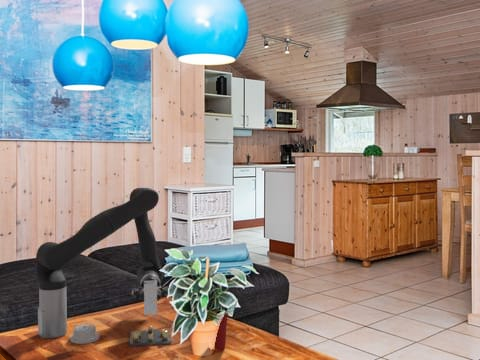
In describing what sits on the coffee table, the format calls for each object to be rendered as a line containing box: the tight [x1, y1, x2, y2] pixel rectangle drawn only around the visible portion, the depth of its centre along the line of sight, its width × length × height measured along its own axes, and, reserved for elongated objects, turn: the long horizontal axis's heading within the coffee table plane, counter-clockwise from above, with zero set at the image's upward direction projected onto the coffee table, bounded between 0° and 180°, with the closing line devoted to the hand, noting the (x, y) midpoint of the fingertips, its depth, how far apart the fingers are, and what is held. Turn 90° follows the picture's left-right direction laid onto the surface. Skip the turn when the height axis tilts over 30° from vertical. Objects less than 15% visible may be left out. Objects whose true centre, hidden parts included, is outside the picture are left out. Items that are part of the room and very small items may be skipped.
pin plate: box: [129, 325, 172, 347], centre depth 178 cm, size 14×12×4 cm
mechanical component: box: [69, 324, 100, 345], centre depth 178 cm, size 10×4×10 cm
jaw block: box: [143, 280, 158, 316], centre depth 178 cm, size 4×4×11 cm
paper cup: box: [214, 312, 228, 352], centre depth 170 cm, size 8×8×14 cm
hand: (150, 298), depth 175 cm, fingers closed on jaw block, 4 cm apart
